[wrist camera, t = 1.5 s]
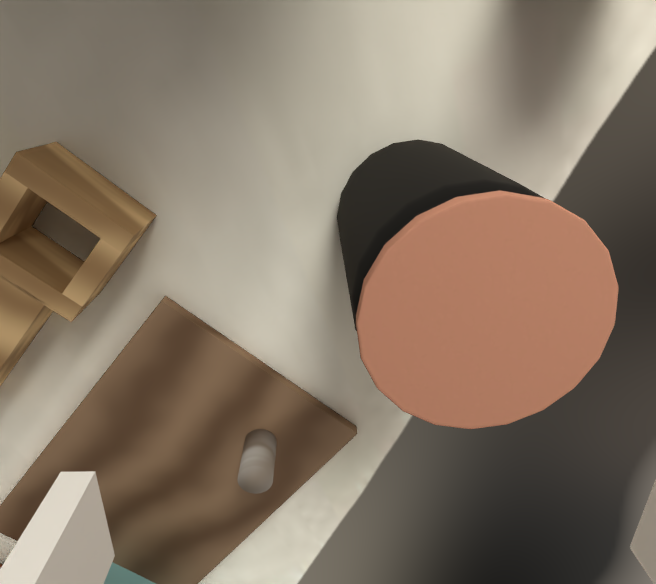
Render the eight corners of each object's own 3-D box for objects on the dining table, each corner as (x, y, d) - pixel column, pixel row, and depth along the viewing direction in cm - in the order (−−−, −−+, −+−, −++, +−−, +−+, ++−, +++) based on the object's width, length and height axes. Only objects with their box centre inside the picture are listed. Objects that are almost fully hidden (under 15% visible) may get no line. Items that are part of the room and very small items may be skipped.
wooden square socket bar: (15, 408, 42) (-21, 448, 38) (-77, 356, 40) (-127, 392, 35) (156, 215, 36) (133, 235, 31) (56, 141, 34) (15, 152, 29)
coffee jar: (415, 304, 39) (489, 467, 23) (307, 227, 37) (303, 350, 20) (510, 197, 36) (676, 298, 20) (399, 104, 33) (484, 131, 17)
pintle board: (-9, 516, 47) (-47, 569, 42) (165, 295, 39) (143, 328, 34) (169, 602, 53) (154, 658, 48) (356, 426, 44) (361, 471, 39)
